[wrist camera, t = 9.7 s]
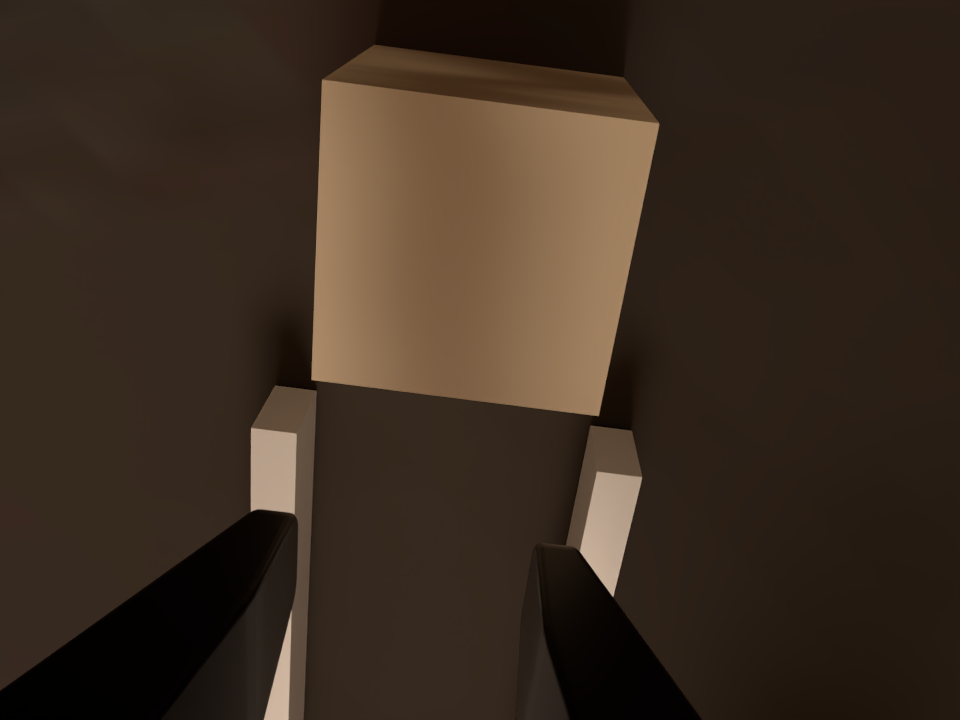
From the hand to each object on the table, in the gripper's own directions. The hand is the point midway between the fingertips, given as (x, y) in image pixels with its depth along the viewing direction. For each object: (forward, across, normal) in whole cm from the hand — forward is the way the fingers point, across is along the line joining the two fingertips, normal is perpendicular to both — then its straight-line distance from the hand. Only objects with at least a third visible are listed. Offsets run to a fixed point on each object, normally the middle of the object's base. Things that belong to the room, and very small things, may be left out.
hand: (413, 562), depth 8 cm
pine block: (+11, 0, -1) cm, 11 cm away
